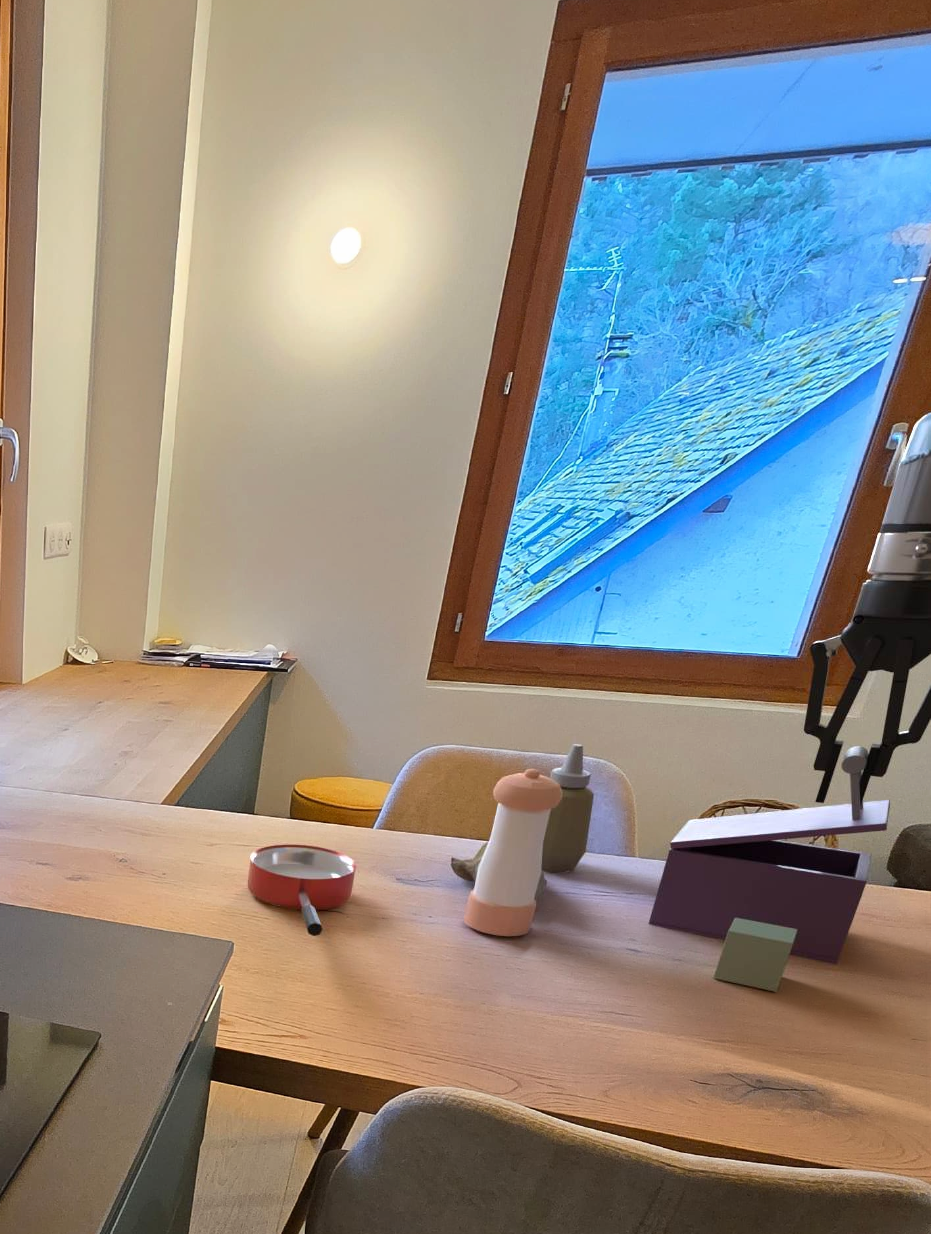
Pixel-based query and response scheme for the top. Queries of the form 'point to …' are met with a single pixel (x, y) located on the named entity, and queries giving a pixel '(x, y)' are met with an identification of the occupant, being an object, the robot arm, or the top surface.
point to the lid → (793, 818)
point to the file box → (764, 891)
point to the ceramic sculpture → (470, 867)
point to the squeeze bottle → (568, 816)
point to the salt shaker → (513, 855)
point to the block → (755, 954)
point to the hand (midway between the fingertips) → (838, 802)
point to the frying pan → (301, 879)
